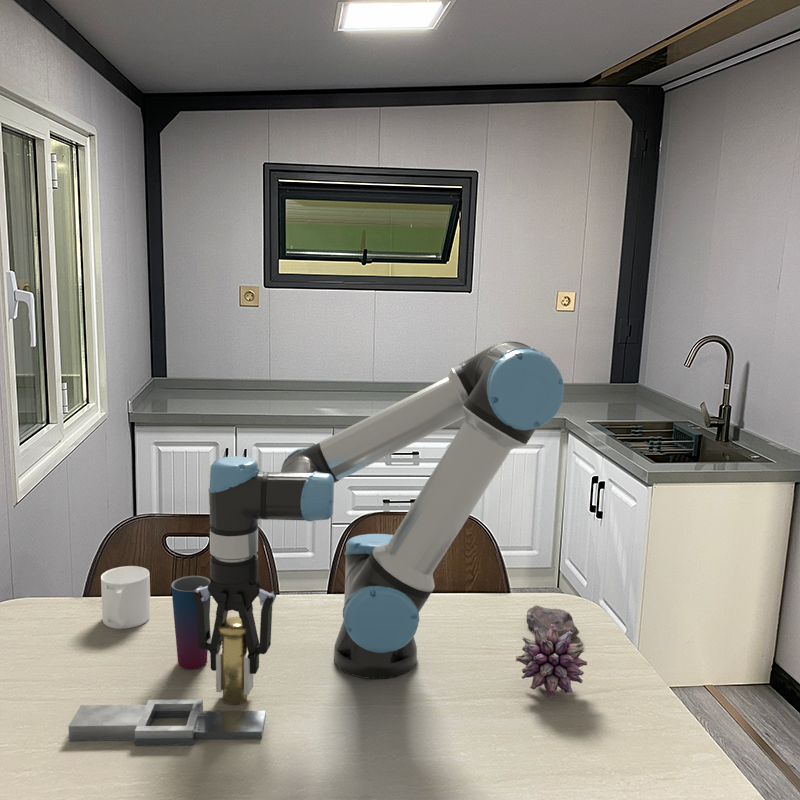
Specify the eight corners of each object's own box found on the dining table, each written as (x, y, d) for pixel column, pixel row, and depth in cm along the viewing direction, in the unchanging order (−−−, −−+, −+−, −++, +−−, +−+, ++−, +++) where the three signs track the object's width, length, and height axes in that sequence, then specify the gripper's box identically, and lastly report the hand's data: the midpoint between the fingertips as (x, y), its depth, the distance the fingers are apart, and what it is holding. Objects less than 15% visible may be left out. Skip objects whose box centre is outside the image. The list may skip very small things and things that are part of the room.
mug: (115, 607, 163) (114, 564, 161) (157, 611, 162) (156, 567, 160) (86, 634, 151) (84, 588, 150) (132, 638, 150) (130, 591, 149)
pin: (254, 690, 133) (254, 618, 131) (245, 707, 128) (245, 632, 126) (224, 688, 134) (224, 616, 132) (214, 705, 129) (213, 630, 126)
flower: (562, 721, 127) (567, 652, 125) (501, 692, 135) (504, 627, 133) (597, 693, 136) (603, 628, 134) (538, 668, 144) (542, 606, 142)
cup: (201, 674, 138) (200, 593, 135) (165, 669, 139) (164, 588, 137) (218, 655, 145) (217, 578, 142) (183, 651, 146) (182, 574, 143)
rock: (551, 617, 165) (553, 596, 164) (584, 641, 155) (585, 620, 154) (517, 623, 162) (519, 602, 161) (548, 648, 152) (550, 626, 151)
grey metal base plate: (266, 712, 127) (266, 698, 127) (260, 744, 119) (260, 729, 118) (84, 714, 125) (83, 700, 125) (65, 746, 117) (65, 731, 116)
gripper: (292, 549, 130) (291, 681, 134) (191, 542, 131) (193, 673, 135) (280, 566, 122) (279, 706, 126) (173, 558, 124) (176, 696, 128)
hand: (235, 688), depth 131 cm, fingers closed on pin, 4 cm apart
